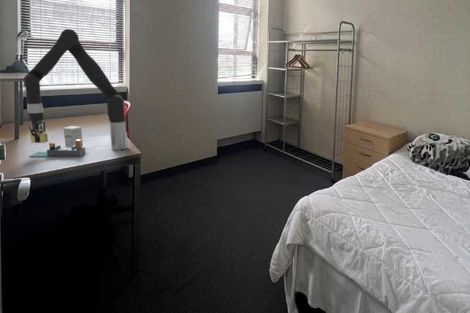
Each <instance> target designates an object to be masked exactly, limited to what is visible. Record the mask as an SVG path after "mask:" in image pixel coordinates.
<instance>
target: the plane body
mask: <svg viewBox="0 0 470 313" xmlns="http://www.w3.org/2000/svg"><path fill="white" fill-rule="evenodd" d="M82 141H83V138H82V139H77V140H76V141H75V142H76V145H73V146H72V147H66V146H61V144H58V145H56V143H55V142H49V143H48V145H49V146H48V147H49V148H48V149H46V152H47V156H48V157H47V158H82V157H83V155H85V154H86V147H85V146H82Z"/></svg>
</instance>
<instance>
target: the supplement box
mask: <svg viewBox="0 0 470 313" xmlns="http://www.w3.org/2000/svg"><path fill="white" fill-rule="evenodd" d="M63 135H64V144H65V147H72V146H73V145H76V142H75V141H76V140H77V139H82V147H84V143H83V133H82V126H77V125H76V126H74V125H70V126H66V127H63Z"/></svg>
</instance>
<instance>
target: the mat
mask: <svg viewBox="0 0 470 313" xmlns="http://www.w3.org/2000/svg"><path fill="white" fill-rule="evenodd" d="M29 158H49V157H48V156H47V151H36V152H35V153H33V154H31V155H30V156H29Z"/></svg>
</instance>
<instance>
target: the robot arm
mask: <svg viewBox="0 0 470 313" xmlns="http://www.w3.org/2000/svg"><path fill="white" fill-rule="evenodd" d="M59 35H60V36H59V37H58V39H57V40H56V42H55V43H54V45H53V46H52V47H51V48H50V49H49V50H48V51H47V53H46V54H45V55H44V56H43V57H42V58H41V59H40V60H39V61H38V62H37V63H36V64H35V66H34V67H33V68H32V69H31V70H29V71H28V73H26V74H25V76H24V77H23V81H22V82H23V84H24V87H25V91H26V92H25V93H26V95H25V97H26V106H27V107H26V108H27V109H26V110H27V116H28V120H29V121H31V125H28V128H29V131H30V134H31V135H32V136H34V137H35V142H36V143H35V144H40V143H39V142H40V139H39V133H46V121H44V120H45V114H44V106H43V102H42V96H41V84H40V82H41V81H42V79H43V78H44V77H47V76H48V75H49V73H50V72H51V71H52V70H53V69H54V67H55V66H56V65H57V64H58V62H59V61H60V59H61V58H62V57H63V55H65V53H66V52H67V51H68V52H69V53H70V54H71V56H73V57H74V59H75V61H76V62H77V64H78V66H79V67H80V69H81V70H82V71H83V73H84V74H85V75H86V77H87V78H88V80H89V81H90V82H91V83H92V84H93V86H95V87H96V88H97V89H98V90H99V91H100V92H101V93H102V94H103V96H104V97H105V99H106V100H107V102H106V105H107V116H108V122H109V133H110V144H111V150H113V151H122V150H121V149H125V150H127V149H128V148H127V147H129V142H128V132H127V128H126V127H127V126H126V115H125V106H124V105H125V100H124V98H123V96H122V95H121V94H120V93H119V92H118V91H117V89H116V88H115V87H114V86H113V85H112V83H111V82H110V80H109V77H108V76H107V75H106V73H105V72H104V71H103V69H102V68H101V67H100V65H99V63H98V62H96V61H95V59H94V58H93V57H92V56H91V55H89V53H88V52H87V51H86V49H85V48H84V47H83V45H82V43H81V42H80V39H79V35H78V33H77V32H76V31H75V30H74V29H69V28H68V29H64V30H63V31H62V32H61V33H60V34H59ZM126 148H127V149H126Z"/></svg>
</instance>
